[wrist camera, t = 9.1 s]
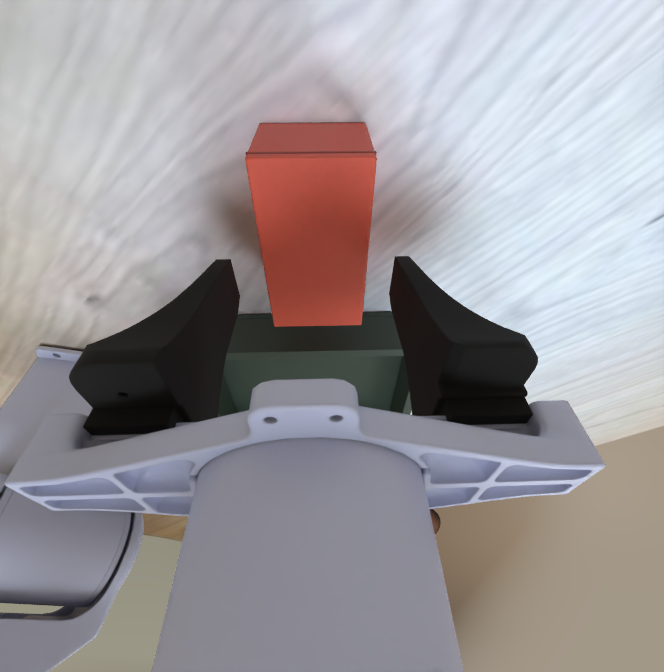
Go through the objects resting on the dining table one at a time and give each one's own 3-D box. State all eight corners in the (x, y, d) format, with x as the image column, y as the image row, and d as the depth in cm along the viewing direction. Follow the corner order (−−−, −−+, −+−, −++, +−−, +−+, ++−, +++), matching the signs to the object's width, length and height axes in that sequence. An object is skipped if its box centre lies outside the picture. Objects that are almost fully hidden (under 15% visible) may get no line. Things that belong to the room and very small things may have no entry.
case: (279, 279, 22) (273, 327, 19) (258, 122, 16) (243, 157, 13) (356, 277, 22) (362, 325, 19) (366, 121, 16) (377, 156, 13)
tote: (235, 417, 35) (229, 451, 32) (194, 315, 24) (179, 354, 22) (393, 413, 35) (399, 447, 33) (419, 310, 25) (431, 349, 22)
